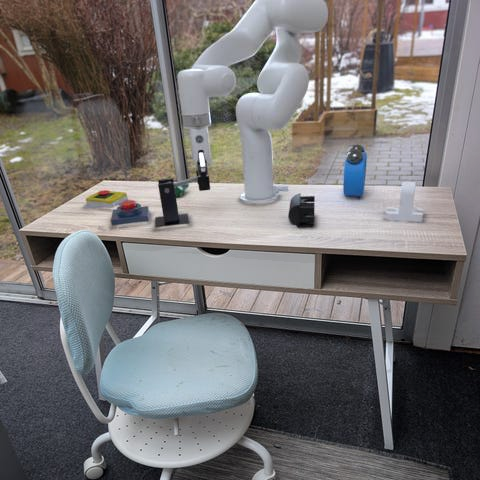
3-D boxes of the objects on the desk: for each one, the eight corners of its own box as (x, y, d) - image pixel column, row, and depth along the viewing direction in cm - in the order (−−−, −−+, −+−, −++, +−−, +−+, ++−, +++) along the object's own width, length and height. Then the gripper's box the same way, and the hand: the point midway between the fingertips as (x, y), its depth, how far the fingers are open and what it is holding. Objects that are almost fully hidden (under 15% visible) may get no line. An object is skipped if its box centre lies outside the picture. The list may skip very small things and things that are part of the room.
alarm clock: (362, 202, 146) (365, 152, 138) (341, 201, 148) (343, 152, 140) (364, 188, 156) (368, 141, 148) (345, 188, 158) (347, 141, 150)
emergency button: (97, 186, 166) (132, 189, 160) (100, 198, 168) (134, 202, 162) (79, 194, 159) (115, 198, 153) (82, 207, 161) (118, 211, 155)
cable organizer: (422, 221, 130) (427, 185, 125) (384, 219, 133) (388, 184, 128) (423, 215, 134) (428, 179, 129) (386, 213, 137) (390, 178, 132)
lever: (206, 177, 139) (203, 169, 138) (207, 182, 135) (205, 174, 133) (163, 190, 139) (160, 182, 138) (163, 195, 135) (160, 187, 134)
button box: (149, 213, 151) (147, 200, 149) (149, 224, 144) (146, 209, 141) (114, 218, 150) (111, 204, 148) (112, 228, 143) (109, 214, 140)
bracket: (188, 217, 146) (182, 175, 139) (189, 226, 140) (183, 183, 133) (155, 220, 145) (148, 179, 138) (155, 230, 139) (148, 187, 132)
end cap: (290, 215, 141) (289, 193, 137) (314, 215, 140) (314, 192, 136) (288, 228, 133) (288, 205, 129) (314, 228, 132) (314, 204, 128)
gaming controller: (172, 204, 163) (182, 192, 159) (164, 196, 162) (174, 184, 159) (182, 195, 170) (192, 183, 167) (174, 187, 169) (184, 176, 166)
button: (136, 205, 147) (135, 199, 146) (135, 209, 143) (134, 204, 142) (122, 206, 146) (121, 201, 145) (121, 211, 143) (120, 205, 142)
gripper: (213, 125, 121) (219, 194, 131) (207, 114, 136) (213, 177, 145) (184, 128, 121) (192, 197, 130) (181, 116, 135) (189, 180, 145)
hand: (203, 186), depth 138 cm, fingers closed on lever, 5 cm apart
